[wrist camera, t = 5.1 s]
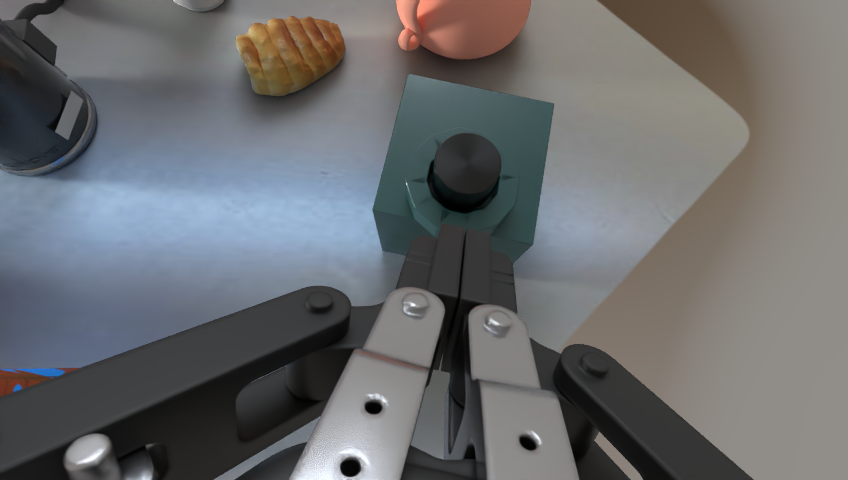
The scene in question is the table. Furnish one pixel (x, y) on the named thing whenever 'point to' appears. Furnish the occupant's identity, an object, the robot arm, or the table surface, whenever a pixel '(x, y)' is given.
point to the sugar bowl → (461, 25)
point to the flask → (415, 152)
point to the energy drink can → (199, 4)
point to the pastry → (289, 53)
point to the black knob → (465, 170)
